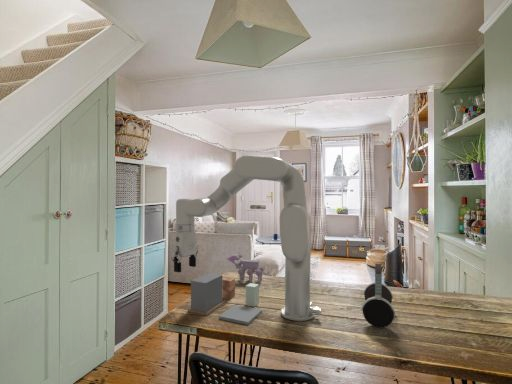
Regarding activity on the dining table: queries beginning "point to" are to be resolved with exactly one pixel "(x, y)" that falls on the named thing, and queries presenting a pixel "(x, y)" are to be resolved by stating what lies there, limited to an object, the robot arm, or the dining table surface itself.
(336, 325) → the dining table surface
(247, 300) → the sage block
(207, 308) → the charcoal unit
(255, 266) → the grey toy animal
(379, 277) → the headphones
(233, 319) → the mat
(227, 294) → the terracotta block
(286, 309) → the robot arm
